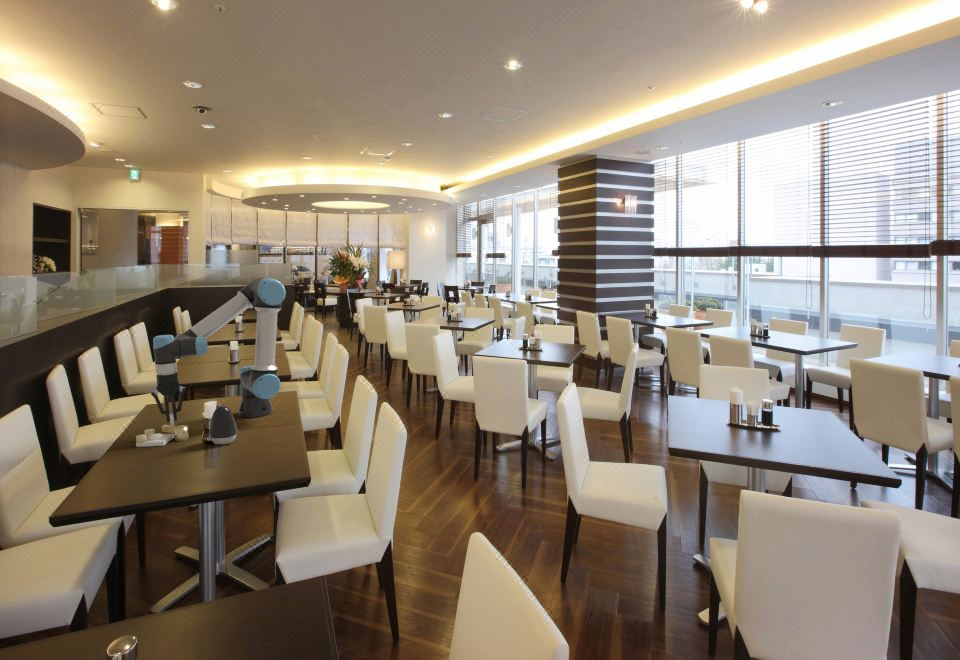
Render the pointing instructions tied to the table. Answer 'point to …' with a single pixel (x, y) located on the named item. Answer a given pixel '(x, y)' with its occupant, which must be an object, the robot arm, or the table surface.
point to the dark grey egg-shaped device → (222, 426)
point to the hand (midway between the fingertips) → (172, 428)
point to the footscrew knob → (177, 431)
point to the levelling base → (152, 438)
